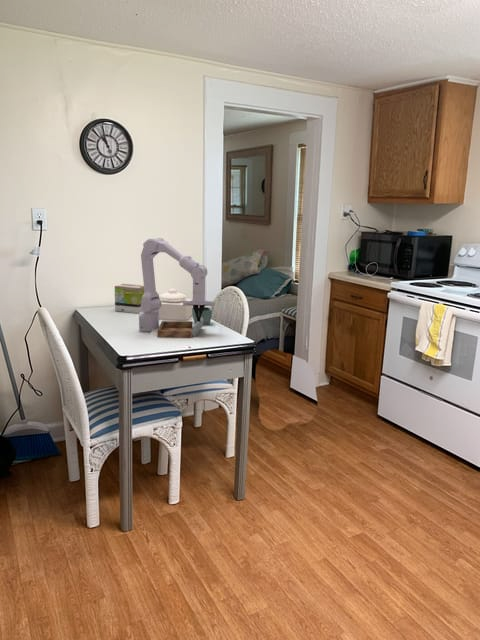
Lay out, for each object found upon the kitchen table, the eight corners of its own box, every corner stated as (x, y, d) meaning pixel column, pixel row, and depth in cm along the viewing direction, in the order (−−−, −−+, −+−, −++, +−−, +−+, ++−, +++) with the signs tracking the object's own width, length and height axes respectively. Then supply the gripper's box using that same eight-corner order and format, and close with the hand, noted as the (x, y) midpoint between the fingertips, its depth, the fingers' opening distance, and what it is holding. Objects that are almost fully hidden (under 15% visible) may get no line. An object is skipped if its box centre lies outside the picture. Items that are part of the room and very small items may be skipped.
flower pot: (194, 328, 249) (194, 310, 247) (191, 324, 258) (191, 307, 256) (211, 328, 252) (212, 310, 250) (208, 324, 260) (208, 307, 258)
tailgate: (191, 334, 227) (200, 324, 226) (193, 326, 244) (201, 316, 243) (195, 337, 227) (203, 327, 227) (196, 328, 244) (204, 319, 243)
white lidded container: (193, 314, 283) (193, 286, 280) (185, 321, 266) (185, 291, 262) (162, 313, 285) (162, 285, 282) (153, 319, 268) (153, 290, 264)
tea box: (114, 311, 285) (113, 285, 282) (123, 308, 294) (122, 283, 291) (138, 313, 281) (138, 287, 278) (146, 310, 290) (146, 285, 287)
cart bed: (157, 340, 225) (157, 330, 224) (161, 330, 245) (161, 320, 244) (193, 341, 226) (193, 331, 225) (194, 330, 246) (195, 321, 245)
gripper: (182, 293, 227) (182, 322, 230) (214, 293, 228) (214, 323, 231) (183, 290, 234) (183, 319, 237) (214, 291, 235) (214, 319, 238)
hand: (198, 321), depth 235 cm, fingers closed
